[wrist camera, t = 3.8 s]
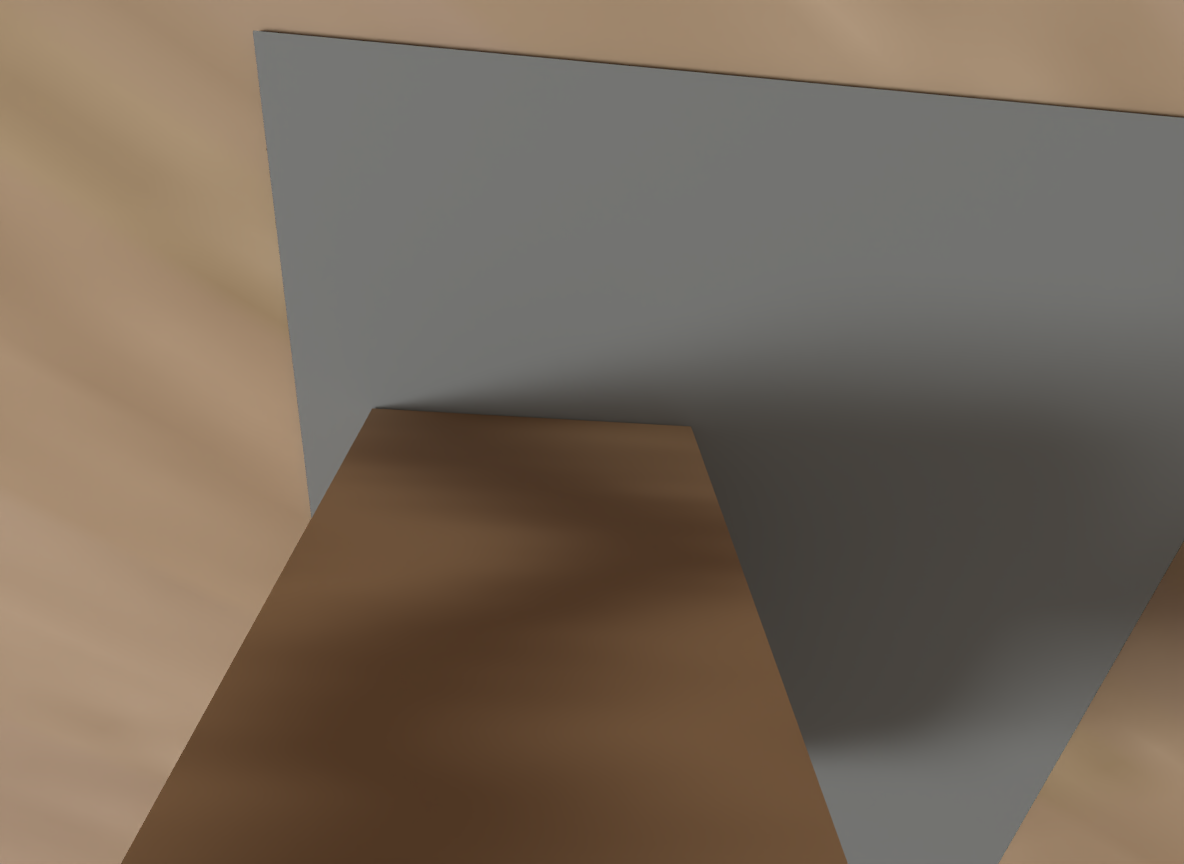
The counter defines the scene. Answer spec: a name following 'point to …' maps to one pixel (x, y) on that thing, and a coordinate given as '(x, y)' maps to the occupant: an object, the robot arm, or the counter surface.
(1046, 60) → the counter surface
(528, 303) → the grey mat
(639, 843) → the walnut block
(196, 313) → the counter surface
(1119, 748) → the counter surface
